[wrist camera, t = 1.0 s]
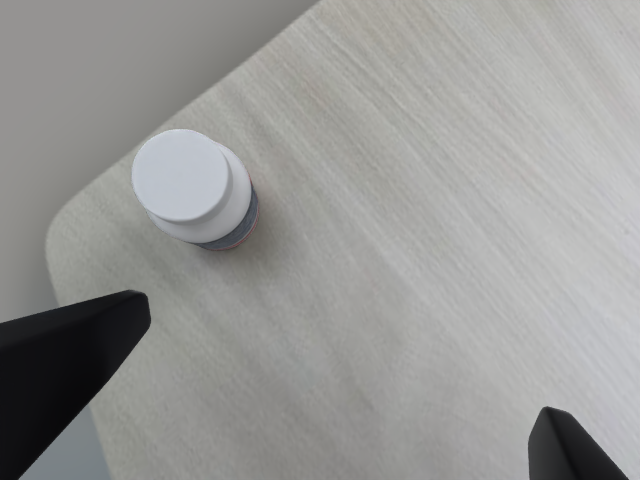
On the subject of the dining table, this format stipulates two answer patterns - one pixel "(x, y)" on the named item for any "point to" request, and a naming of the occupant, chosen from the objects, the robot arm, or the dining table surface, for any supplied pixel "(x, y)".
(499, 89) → the dining table surface
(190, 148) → the pill bottle
